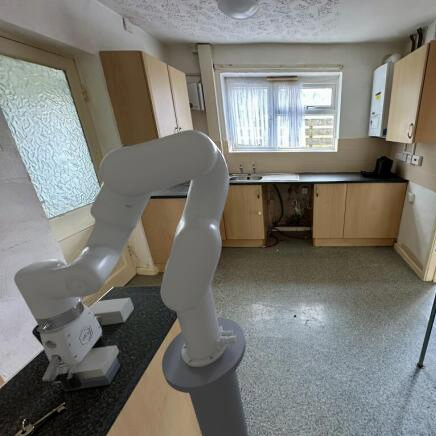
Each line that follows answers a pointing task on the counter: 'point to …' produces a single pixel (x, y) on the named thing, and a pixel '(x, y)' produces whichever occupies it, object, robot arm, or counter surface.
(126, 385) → the counter surface
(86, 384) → the blue-grey rectangular block
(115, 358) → the blue-grey flat block
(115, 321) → the white book
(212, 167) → the robot arm
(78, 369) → the flat grey box
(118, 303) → the white book
